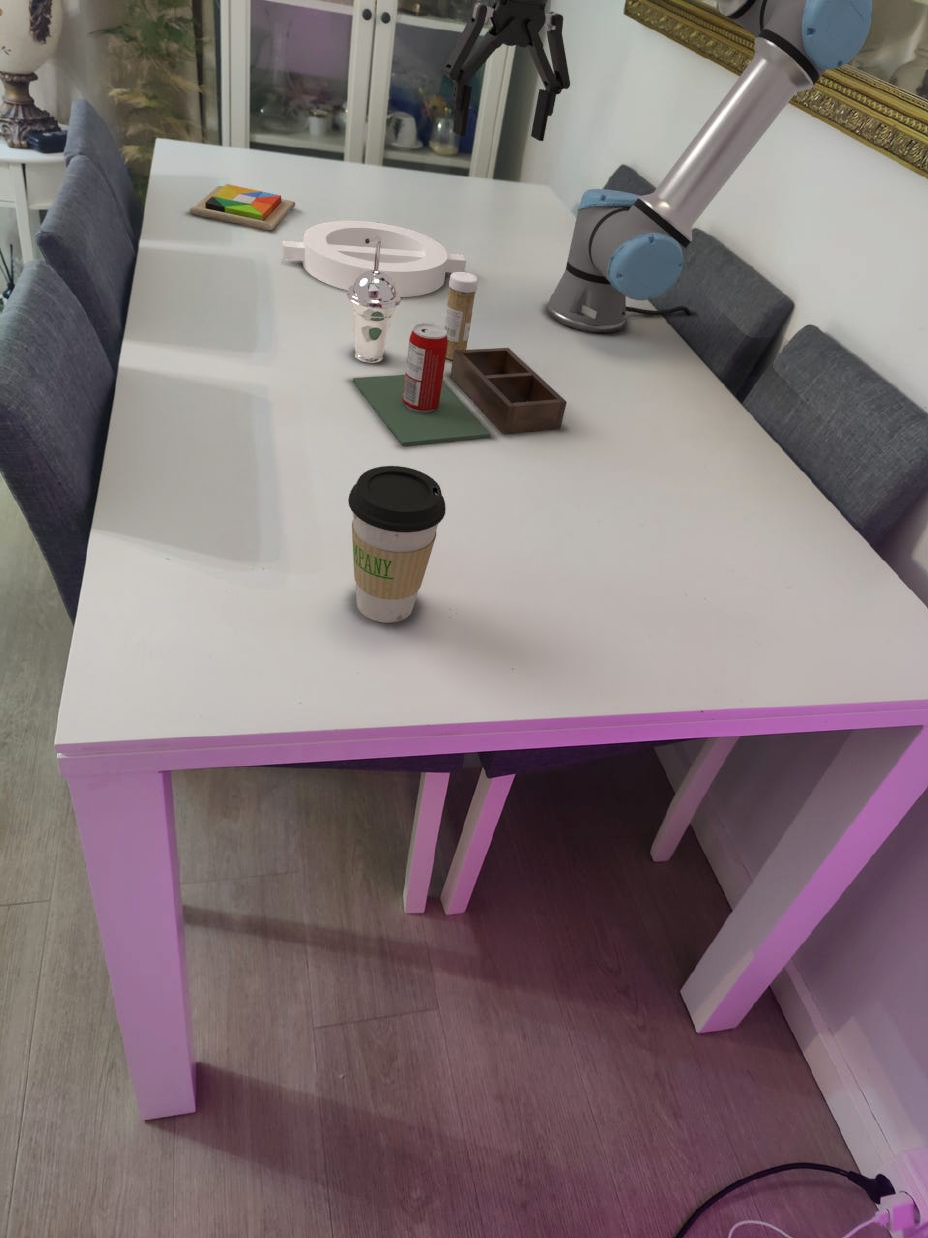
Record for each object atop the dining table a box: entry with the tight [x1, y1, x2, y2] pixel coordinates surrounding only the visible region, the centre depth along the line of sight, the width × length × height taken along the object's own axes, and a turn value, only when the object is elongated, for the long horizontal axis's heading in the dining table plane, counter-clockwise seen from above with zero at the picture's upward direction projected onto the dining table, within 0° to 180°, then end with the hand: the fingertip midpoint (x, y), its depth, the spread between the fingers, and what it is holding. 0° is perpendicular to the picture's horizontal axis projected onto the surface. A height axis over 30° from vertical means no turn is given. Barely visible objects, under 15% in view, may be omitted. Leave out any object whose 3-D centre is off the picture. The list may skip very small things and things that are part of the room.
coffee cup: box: [347, 465, 447, 624], centre depth 94 cm, size 10×10×15 cm
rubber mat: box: [352, 374, 492, 447], centre depth 136 cm, size 14×20×1 cm
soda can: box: [402, 322, 448, 413], centre depth 132 cm, size 6×6×12 cm
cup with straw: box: [346, 236, 402, 364], centre depth 141 cm, size 8×9×20 cm
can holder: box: [449, 347, 568, 435], centre depth 141 cm, size 10×19×4 cm, turn 25°
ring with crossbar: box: [281, 220, 467, 298], centre depth 177 cm, size 28×28×5 cm
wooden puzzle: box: [188, 183, 296, 231], centre depth 192 cm, size 18×19×4 cm
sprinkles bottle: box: [443, 271, 479, 361], centre depth 149 cm, size 5×5×14 cm
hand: (498, 136), depth 138 cm, fingers open, 13 cm apart
